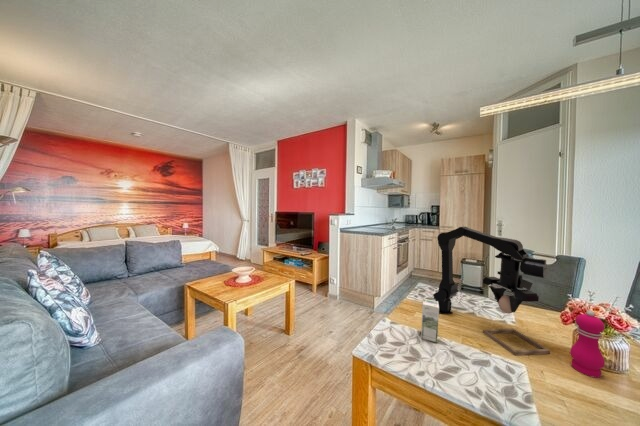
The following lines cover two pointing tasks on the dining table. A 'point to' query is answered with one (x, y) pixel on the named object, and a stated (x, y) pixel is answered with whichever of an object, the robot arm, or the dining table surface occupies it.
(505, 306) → the egg
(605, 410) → the dining table surface
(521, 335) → the walnut frame
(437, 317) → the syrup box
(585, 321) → the pepper mill
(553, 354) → the dining table surface
